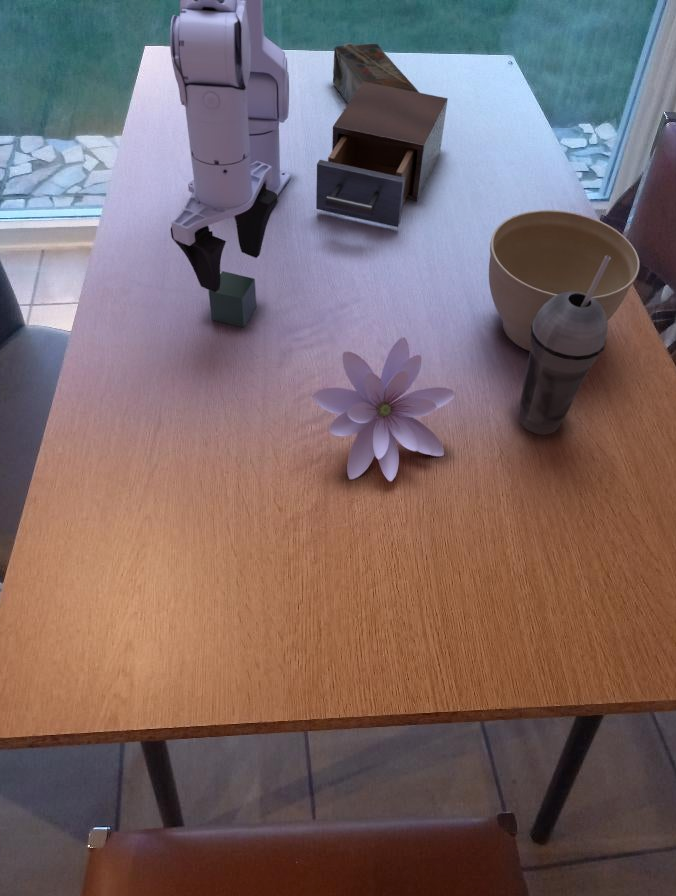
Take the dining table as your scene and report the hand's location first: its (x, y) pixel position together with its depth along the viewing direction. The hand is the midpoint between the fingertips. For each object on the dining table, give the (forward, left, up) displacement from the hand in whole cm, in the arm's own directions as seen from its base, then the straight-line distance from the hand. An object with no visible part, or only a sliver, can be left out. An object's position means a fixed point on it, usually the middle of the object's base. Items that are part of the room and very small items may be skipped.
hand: (230, 270), depth 86 cm
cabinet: (+8, +39, -6) cm, 40 cm away
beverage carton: (+1, +56, -6) cm, 56 cm away
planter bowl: (+35, +10, -6) cm, 37 cm away
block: (0, 0, -6) cm, 6 cm away
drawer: (+8, +28, -5) cm, 29 cm away
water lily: (+22, -15, -6) cm, 27 cm away
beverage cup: (+37, -5, -6) cm, 38 cm away
